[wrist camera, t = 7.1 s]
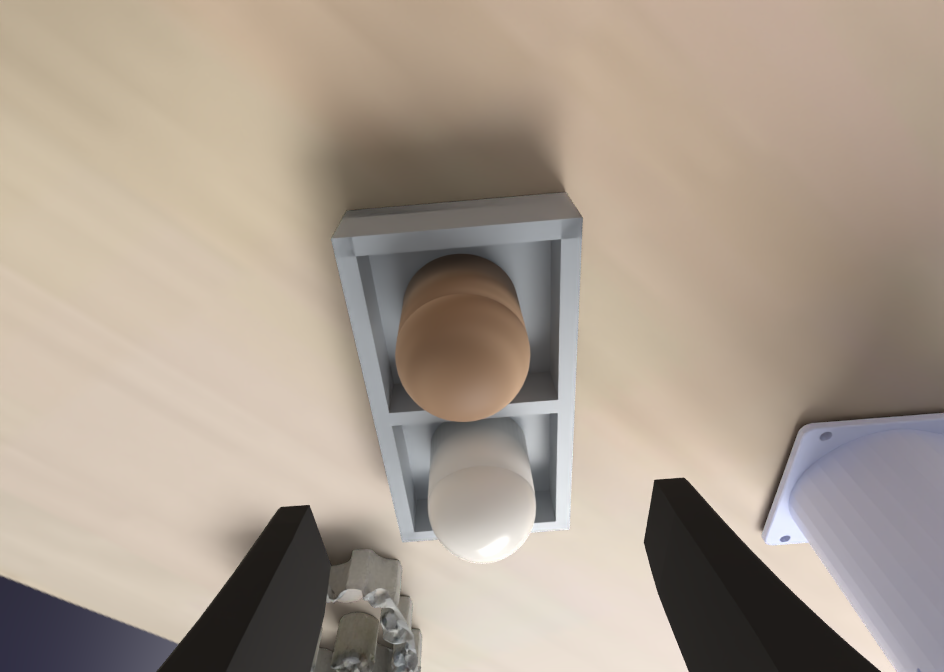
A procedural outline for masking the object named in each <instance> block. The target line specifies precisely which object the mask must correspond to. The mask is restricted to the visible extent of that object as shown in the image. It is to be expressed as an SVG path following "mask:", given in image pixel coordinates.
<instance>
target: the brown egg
mask: <svg viewBox="0 0 944 672" xmlns="http://www.w3.org/2000/svg"><path fill="white" fill-rule="evenodd" d="M395 359H396V366H397V371H398V375H399V378H400V380H401V383H402V385H403V387H404V388H405V390H406V392H407V393H408V394H409V396H410V397H411V398H412V399H413V401H414V402H415V403H416V404H417V405H418V406H420V407H421V408H422V409H424V410H425V411H427V412H429V413H430V414H432V415H434V416H436V417H438V418H441V419H445V420H449V421H456V422H470V421H476V420H481V419H484V418H487V417H489V416H492V415H494V414H495V413H497V412H499V411H500V410H502V409H503V408H504V407H506V406H507V405H508V404H509V403H510V402H511V401H512V400H513V399H514V398H515V396H516V395H517V394H518V392H519V391H520V389H521V388H522V386H523V384H524V382H525V379H526V376H527V373H528V370H529V363H530V344H529V339H528V335H527V331H526V327H525V323H524V319H523V316H522V312H521V308H520V304H519V300H518V297H517V293H516V290H515V287H514V285H513V283H512V281H511V279H510V278H509V276H508V275H507V274H506V273H505V272H504V271H503V270H502V269H501V268H500V267H499V266H498V265H496V264H495V263H493V262H491V261H490V260H488V259H485V258H483V257H480V256H476V255H471V254H450V255H446V256H442V257H439V258H437V259H434V260H432V261H431V262H429V263H427V264H426V265H424V266H423V267H422V268H421V269H419V270H418V271H417V272H416V274H415V275H414V276H413V277H412V279H411V280H410V282H409V284H408V286H407V288H406V291H405V295H404V300H403V306H402V312H401V317H400V323H399V329H398V335H397V341H396V350H395Z"/></svg>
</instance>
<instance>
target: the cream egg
mask: <svg viewBox="0 0 944 672" xmlns="http://www.w3.org/2000/svg"><path fill="white" fill-rule="evenodd" d="M428 516H429V521H430V524H431V527H432V530H433V532H434V534H435V535H436V537H437V539H438V540H439V542H440V543H441V544H442V545H443V546H444V547H445V548H446V549H447V550H448V551H449V552H450V553H452V554H453V555H455V556H456V557H458V558H460V559H462V560H465V561H468V562H472V563H492V562H496V561H500V560H502V559H504V558H506V557H508V556H510V555H511V554H513V553H514V552H516V551H517V550H518V549H519V548H520V547H521V546H522V545H523V543H524V542H525V541H526V539H527V538H528V536H529V534H530V532H531V530H532V528H533V524H534V521H535V517H536V497H535V491H534V485H533V479H532V474H531V468H530V462H529V456H528V451H527V445H526V439H525V435H524V433H523V431H522V429H521V428H520V426H519V425H518V424H517V423H516V422H515V421H514V420H512V419H511V418H509V417H499V418H487V419H481V420H476V421H470V422H456V421H449V422H443V423H442V424H441V425H440V426H439V427H438V428H437V429H436V431H435V432H434V434H433V436H432V440H431V448H430V468H429V487H428Z"/></svg>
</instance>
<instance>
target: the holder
mask: <svg viewBox="0 0 944 672" xmlns="http://www.w3.org/2000/svg"><path fill="white" fill-rule="evenodd" d="M582 222H583V217H582V216H581V214H580V213H579V211H578V210H577V208H576V207H575V205H574V204H573V202H572V201H571V199H570V197H569V196H568V194H567V193H566V192H562V193H550V194H538V195H526V196H514V197H503V198H491V199H479V200H467V201H455V202H443V203H431V204H420V205H408V206H396V207H384V208H372V209H360V210H349V211H346V213H345V214H344V216H343V218H342V220H341V222H340V223H339V225H338V227H337V229H336V230H335V232H334V234H333V236H332V238H331V241H332V245H333V249H334V254H335V258H336V262H337V266H338V271H339V275H340V279H341V283H342V288H343V292H344V296H345V300H346V305H347V309H348V313H349V317H350V322H351V326H352V330H353V334H354V339H355V343H356V347H357V351H358V356H359V360H360V364H361V368H362V373H363V377H364V381H365V385H366V390H367V394H368V398H369V402H370V407H371V411H372V415H373V419H374V424H375V428H376V432H377V436H378V441H379V445H380V449H381V453H382V458H383V462H384V466H385V470H386V475H387V479H388V483H389V487H390V492H391V496H392V500H393V504H394V509H395V513H396V517H397V522H398V526H399V530H400V534H401V539H402V542H412V541H425V540H438V539H437V537H436V535H435V534H434V532H433V530H432V527H431V524H430V521H429V516H428V487H429V468H430V448H431V440H432V436H433V434H434V432H435V431H436V429H437V428H438V427H439V426H440V425H441V424H442V423H443V422H449V420H445V419H441V418H438V417H436V416H434V415H432V414H430V413H429V412H427V411H425V410H424V409H422V408H421V407H420V406H418V405H417V404H416V403H415V402H414V401H413V399H412V398H411V397H410V396H409V394H408V393H407V392H406V390H405V388H404V387H403V385H402V383H401V380H400V378H399V375H398V371H397V366H396V359H395V350H396V341H397V335H398V329H399V323H400V317H401V312H402V306H403V300H404V295H405V291H406V288H407V286H408V284H409V282H410V280H411V279H412V277H413V276H414V275H415V274H416V272H417V271H418V270H419V269H421V268H422V267H423V266H424V265H426V264H427V263H429V262H431V261H432V260H434V259H437V258H439V257H442V256H446V255H450V254H471V255H476V256H480V257H483V258H485V259H488V260H490V261H491V262H493V263H495V264H496V265H498V266H499V267H500V268H501V269H502V270H503V271H504V272H505V273H506V274H507V275H508V276H509V278H510V279H511V281H512V283H513V285H514V287H515V290H516V293H517V297H518V300H519V304H520V308H521V312H522V316H523V319H524V323H525V327H526V331H527V335H528V339H529V344H530V363H529V370H528V373H527V376H526V379H525V382H524V384H523V386H522V388H521V389H520V391H519V392H518V394H517V395H516V396H515V398H514V399H513V400H512V401H511V402H510V403H509V404H508V405H507V406H506V407H504V408H503V409H502V410H500V411H499V412H497V413H495V414H494V415H492V416H489V417H487V418H499V417H509V418H511V419H512V420H514V421H515V422H516V423H517V424H518V425H519V426H520V428H521V429H522V431H523V433H524V435H525V439H526V445H527V451H528V456H529V462H530V468H531V474H532V479H533V485H534V491H535V497H536V517H535V521H534V524H533V528H532V530H531V532H544V531H557V530H570V508H571V484H572V460H573V436H574V412H575V389H576V365H577V341H578V317H579V293H580V269H581V246H582ZM487 418H484V419H487ZM531 532H530V533H531Z"/></svg>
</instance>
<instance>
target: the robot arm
mask: <svg viewBox="0 0 944 672" xmlns="http://www.w3.org/2000/svg"><path fill="white" fill-rule="evenodd" d="M762 538H763V540H764V542H765V543H766V544H768V545H781V544H795V543H808V542H809V544H810V545H811V547H812V548H813V550H814V551H815V553H816V554H817V555H818V557H819V558H820V560H821V561H822V563H823V564H824V566H825V567H826V569H827V570H828V572H829V573H830V575H831V576H832V577H833V579H834V580H835V582H836V583H837V585H838V586H839V588H840V589H841V591H842V592H843V594H844V595H845V597H846V598H847V600H848V601H849V602H850V604H851V605H852V607H853V608H854V610H855V611H856V613H857V614H858V616H859V617H860V619H861V620H862V622H863V623H864V624H865V626H866V627H867V629H868V630H869V632H870V633H871V635H872V636H873V638H874V639H875V641H876V642H877V644H878V645H879V646H880V648H881V649H882V651H883V652H884V654H885V655H886V657H887V658H888V660H889V661H890V663H891V664H892V666H893V667H894V669H895V670H896V671H897V672H944V413H935V414H923V415H910V416H897V417H884V418H871V419H859V420H846V421H833V422H820V423H810V424H807V425H805V426H803V427H802V428H801V429H800V430H799V432H798V434H797V437H796V440H795V442H794V445H793V448H792V451H791V454H790V456H789V459H788V462H787V465H786V468H785V470H784V473H783V476H782V479H781V482H780V484H779V487H778V490H777V493H776V496H775V498H774V501H773V504H772V507H771V510H770V512H769V515H768V518H767V521H766V524H765V526H764V529H763V532H762ZM644 545H645V549H646V552H647V556H648V560H649V564H650V567H651V571H652V574H653V578H654V581H655V585H656V588H657V592H658V595H659V597H660V600H661V602H662V605H663V608H664V610H665V613H666V615H667V618H668V620H669V623H670V625H671V628H672V631H673V633H674V636H675V638H676V641H677V643H678V646H679V648H680V651H681V653H682V656H683V658H684V661H685V663H686V666H687V668H688V671H689V672H881V671H880V670H878V669H877V668H876V667H875V666H874V665H873V664H871V663H870V662H869V661H868V660H867V659H866V658H864V657H863V656H862V655H861V654H860V653H858V652H857V651H856V650H855V649H854V648H853V647H852V646H850V645H849V644H848V643H847V642H846V641H845V640H844V639H843V638H841V637H840V636H839V635H838V634H837V633H836V632H835V631H834V630H833V629H832V628H830V627H829V626H828V625H827V624H826V623H825V622H824V621H823V620H822V619H821V618H820V617H819V616H817V615H816V614H815V613H814V612H813V611H812V610H811V609H810V608H809V607H808V606H807V605H806V604H805V603H804V602H803V601H801V600H800V599H799V598H798V597H797V596H796V595H795V594H794V593H793V592H792V591H791V590H790V589H789V588H788V587H787V586H786V585H785V584H784V583H783V582H782V581H781V580H780V579H779V578H778V577H777V576H776V575H775V574H774V573H773V572H772V571H771V570H770V569H769V568H768V567H767V566H766V565H765V564H764V563H763V562H762V561H761V560H760V559H759V558H758V557H757V556H756V555H755V554H754V553H753V552H752V551H751V550H750V548H749V547H748V546H747V545H746V544H745V543H744V542H743V541H742V540H741V539H740V538H739V537H738V536H737V535H736V534H735V533H734V531H733V530H732V529H731V528H730V527H729V526H728V525H727V524H726V523H725V522H724V521H723V519H722V518H721V517H720V516H719V515H718V514H717V513H716V512H715V511H714V510H713V508H712V507H711V506H710V505H709V504H708V503H707V502H706V501H705V499H704V498H703V497H702V496H701V495H700V494H699V493H698V492H697V490H696V489H695V488H694V487H693V486H692V485H691V484H690V483H689V481H687V480H686V479H685V478H673V479H659V480H654V486H653V492H652V498H651V503H650V509H649V515H648V521H647V527H646V533H645V539H644ZM330 569H331V563H330V561H329V558H328V555H327V552H326V549H325V547H324V544H323V541H322V538H321V536H320V533H319V530H318V527H317V524H316V522H315V519H314V516H313V513H312V511H311V508H310V505H303V506H289V507H280V508H279V509H278V511H277V512H276V513H275V515H274V516H273V517H272V519H271V520H270V522H269V523H268V525H267V526H266V527H265V529H264V530H263V532H262V533H261V535H260V536H259V538H258V539H257V540H256V542H255V543H254V545H253V546H252V548H251V549H250V550H249V552H248V553H247V555H246V556H245V558H244V559H243V560H242V562H241V563H240V565H239V566H238V567H237V569H236V570H235V572H234V573H233V574H232V576H231V577H230V578H229V580H228V581H227V582H226V584H225V585H224V586H223V588H222V589H221V590H220V592H219V593H218V594H217V596H216V597H215V599H214V600H213V601H212V603H211V604H210V605H209V607H208V608H207V609H206V611H205V612H204V613H203V614H202V616H201V617H200V618H199V620H198V621H197V622H196V623H195V625H194V626H193V627H192V628H191V630H190V631H189V632H188V633H187V635H186V636H185V637H184V638H183V640H182V641H181V642H180V643H179V645H178V646H177V647H176V648H175V650H174V651H173V652H172V653H171V655H170V656H169V657H168V658H167V660H166V661H165V662H164V663H163V664H162V666H161V667H160V668H159V669H158V670H157V672H310V671H311V667H312V663H313V659H314V655H315V651H316V647H317V643H318V639H319V635H320V631H321V627H322V622H323V618H324V613H325V606H326V599H327V593H328V585H329V577H330Z"/></svg>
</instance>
